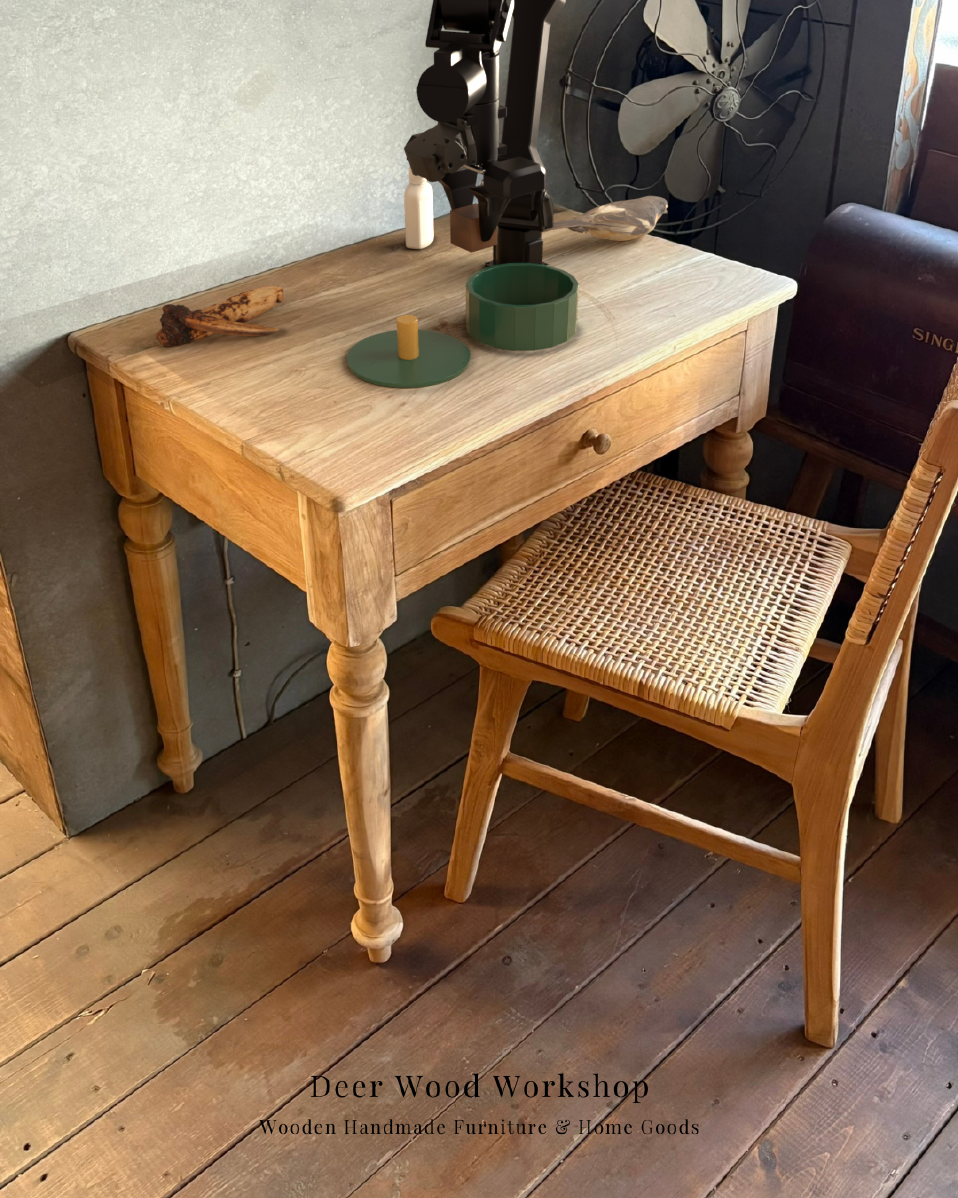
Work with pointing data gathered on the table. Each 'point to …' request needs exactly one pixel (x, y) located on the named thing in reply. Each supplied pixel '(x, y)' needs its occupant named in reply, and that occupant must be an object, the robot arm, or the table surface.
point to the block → (468, 229)
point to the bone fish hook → (219, 317)
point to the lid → (408, 356)
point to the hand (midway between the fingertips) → (474, 235)
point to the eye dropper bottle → (418, 212)
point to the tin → (521, 306)
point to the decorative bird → (618, 219)
